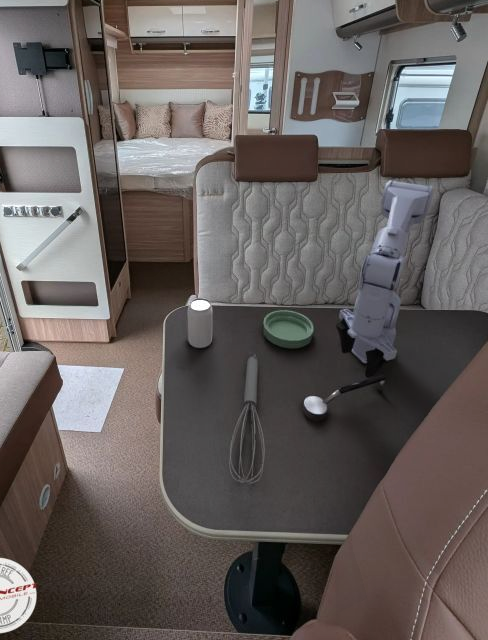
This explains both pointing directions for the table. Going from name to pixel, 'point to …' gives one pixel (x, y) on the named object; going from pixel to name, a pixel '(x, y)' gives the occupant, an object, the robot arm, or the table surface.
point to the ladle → (318, 407)
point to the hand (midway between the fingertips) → (357, 363)
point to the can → (200, 323)
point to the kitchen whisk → (249, 404)
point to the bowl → (288, 329)
